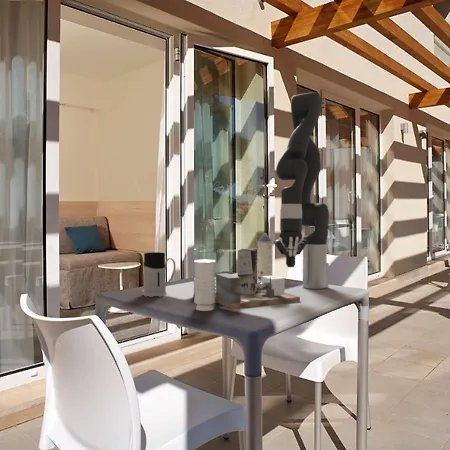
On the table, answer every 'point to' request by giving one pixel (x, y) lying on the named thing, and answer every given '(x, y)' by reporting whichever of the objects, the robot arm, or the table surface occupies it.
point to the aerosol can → (264, 256)
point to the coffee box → (247, 270)
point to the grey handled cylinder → (155, 274)
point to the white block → (272, 284)
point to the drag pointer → (270, 291)
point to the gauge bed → (232, 298)
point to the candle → (204, 284)
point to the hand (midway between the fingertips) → (290, 267)
